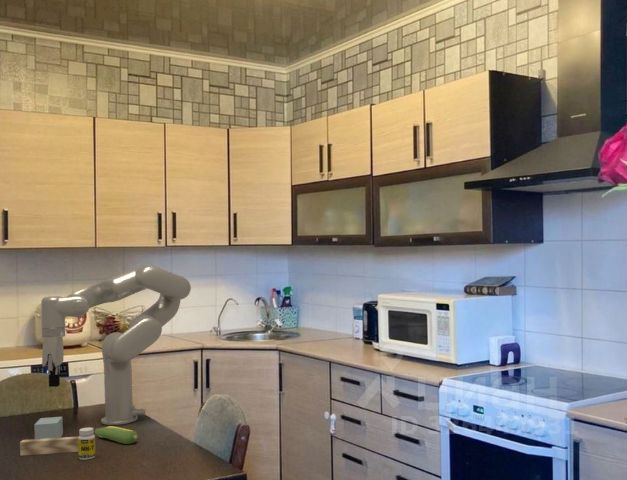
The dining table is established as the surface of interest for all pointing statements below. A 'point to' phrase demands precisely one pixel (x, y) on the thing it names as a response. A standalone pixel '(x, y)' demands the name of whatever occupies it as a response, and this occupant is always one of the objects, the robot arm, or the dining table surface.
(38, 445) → the board
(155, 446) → the dining table surface
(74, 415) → the dining table surface
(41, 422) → the block
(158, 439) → the dining table surface
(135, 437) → the edible corn
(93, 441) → the supplement bottle
